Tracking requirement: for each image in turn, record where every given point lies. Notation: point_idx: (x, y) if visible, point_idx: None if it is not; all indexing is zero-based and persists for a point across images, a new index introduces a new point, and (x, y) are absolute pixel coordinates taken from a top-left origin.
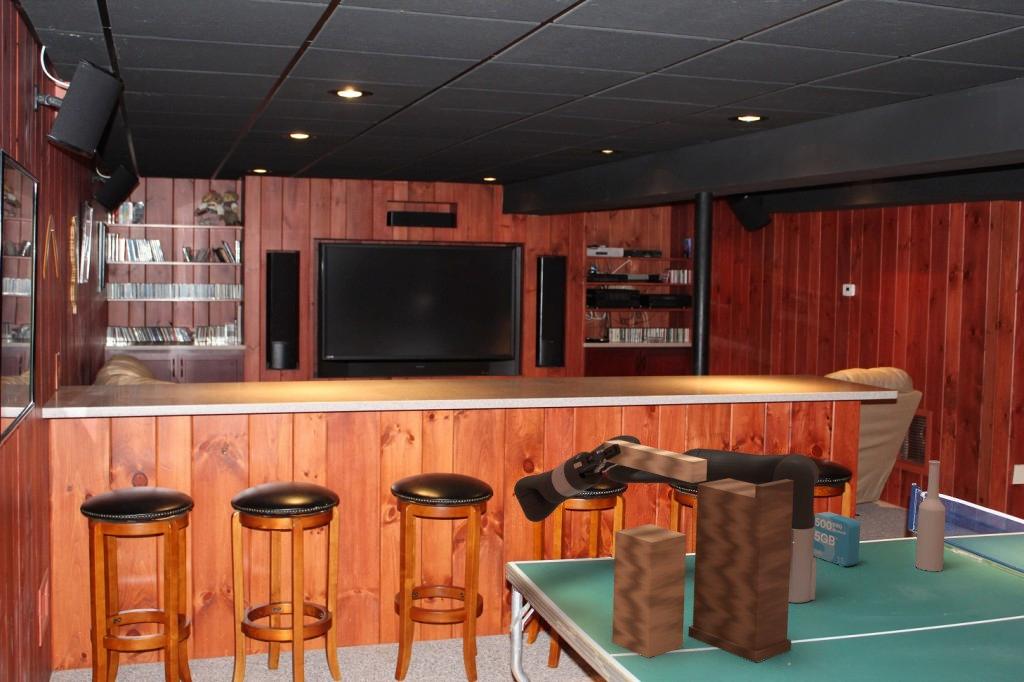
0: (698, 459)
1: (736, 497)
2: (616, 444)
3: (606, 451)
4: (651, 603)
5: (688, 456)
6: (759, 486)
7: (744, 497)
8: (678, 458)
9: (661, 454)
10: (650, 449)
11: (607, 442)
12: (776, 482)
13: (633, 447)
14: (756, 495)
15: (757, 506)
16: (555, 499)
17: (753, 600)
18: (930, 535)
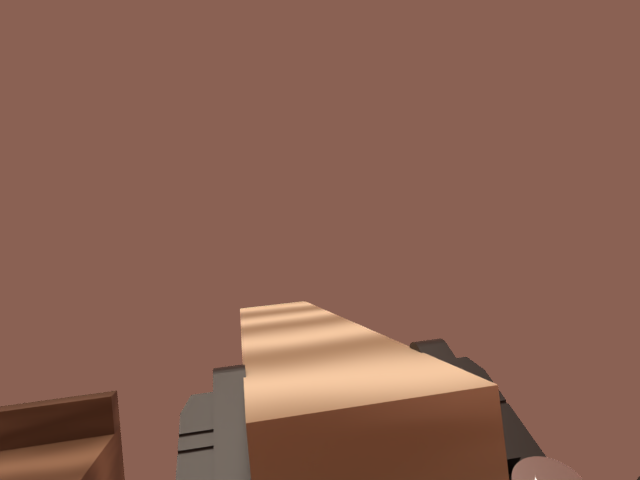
0: (260, 307)
1: (97, 472)
2: (431, 341)
3: (517, 432)
4: None
5: (253, 312)
6: (114, 394)
7: (104, 454)
8: (311, 305)
9: (323, 311)
10: (293, 327)
11: (473, 376)
12: (25, 405)
13: (353, 332)
14: (114, 424)
15: (118, 453)
16: None
17: None
18: None
